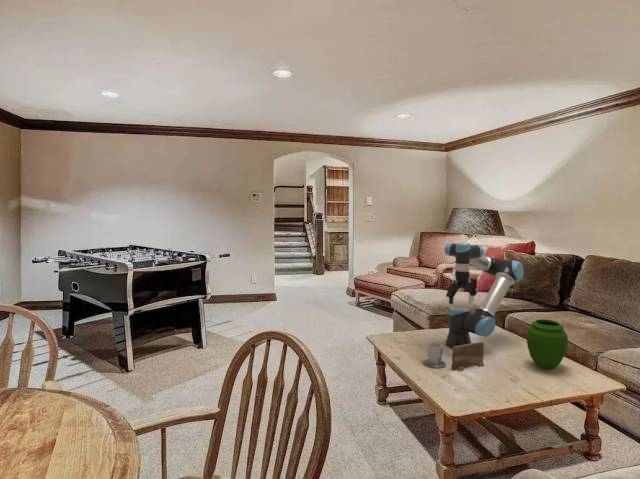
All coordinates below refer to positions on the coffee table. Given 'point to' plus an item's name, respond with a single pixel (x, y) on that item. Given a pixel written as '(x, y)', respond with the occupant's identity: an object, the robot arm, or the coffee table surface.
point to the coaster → (428, 364)
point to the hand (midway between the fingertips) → (461, 308)
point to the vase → (546, 343)
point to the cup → (435, 352)
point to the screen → (467, 356)
